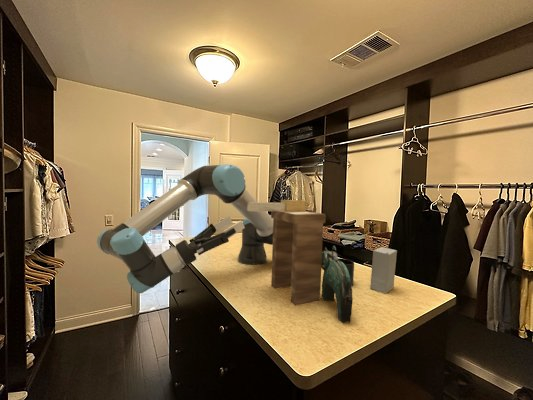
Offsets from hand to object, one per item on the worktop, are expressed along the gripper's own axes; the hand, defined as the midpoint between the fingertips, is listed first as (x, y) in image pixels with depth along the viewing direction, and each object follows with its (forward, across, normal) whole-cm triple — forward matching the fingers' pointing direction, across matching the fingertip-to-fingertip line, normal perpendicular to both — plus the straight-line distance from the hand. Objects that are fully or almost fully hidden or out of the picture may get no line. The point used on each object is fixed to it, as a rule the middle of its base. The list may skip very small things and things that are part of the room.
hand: (236, 221), depth 88 cm
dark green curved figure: (+11, +20, -37) cm, 44 cm away
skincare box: (+36, +14, -51) cm, 64 cm away
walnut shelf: (+5, +5, -34) cm, 34 cm away
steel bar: (+15, 0, -5) cm, 16 cm away
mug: (+25, +3, -45) cm, 52 cm away
